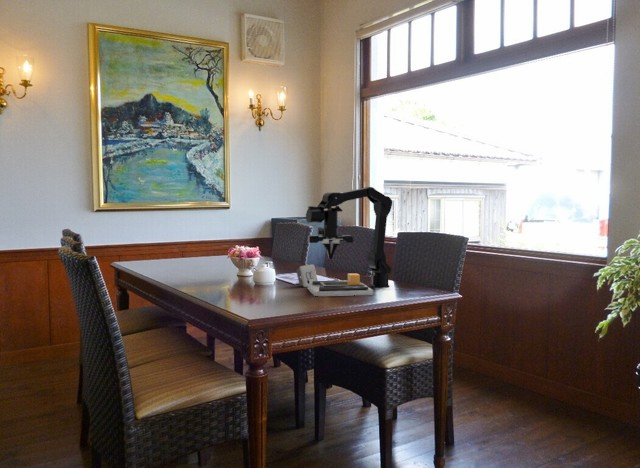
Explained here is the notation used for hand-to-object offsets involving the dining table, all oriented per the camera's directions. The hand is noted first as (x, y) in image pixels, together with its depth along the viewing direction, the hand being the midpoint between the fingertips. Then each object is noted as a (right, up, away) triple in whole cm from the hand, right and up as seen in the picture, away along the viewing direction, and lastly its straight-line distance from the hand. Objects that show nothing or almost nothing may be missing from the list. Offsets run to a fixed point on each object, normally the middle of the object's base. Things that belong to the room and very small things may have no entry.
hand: (330, 259), depth 237 cm
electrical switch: (-10, -12, +11) cm, 20 cm away
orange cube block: (+10, -11, -2) cm, 15 cm away
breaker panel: (+4, -13, -3) cm, 14 cm away
